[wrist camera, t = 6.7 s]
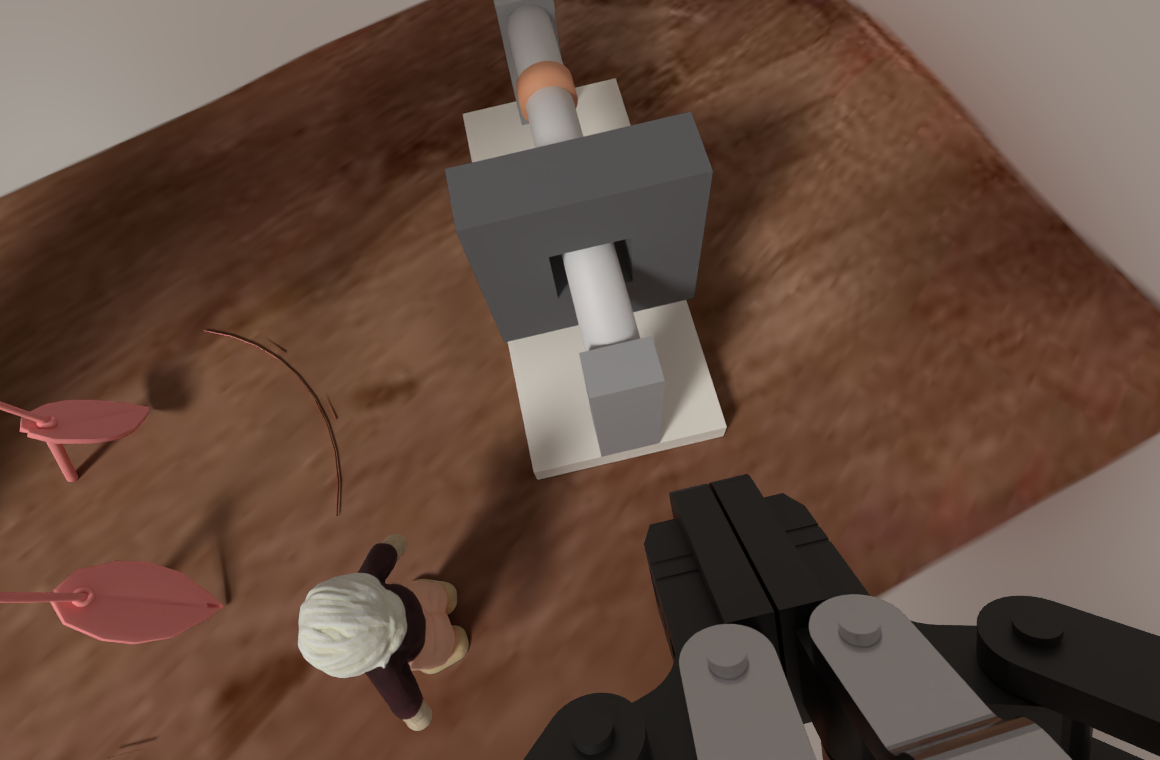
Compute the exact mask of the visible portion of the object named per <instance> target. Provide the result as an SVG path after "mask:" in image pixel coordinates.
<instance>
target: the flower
mask: <svg viewBox="0 0 1160 760" xmlns="http://www.w3.org/2000/svg"><path fill="white" fill-rule="evenodd" d="M203 331H204V330H203ZM205 332H209V331H205ZM210 333H215V332H210ZM215 334H220V333H215ZM220 335H225V334H220ZM225 336H230V335H225ZM231 337H233V336H231ZM234 338H235V337H234ZM236 339H238V338H236ZM239 340H241V339H239ZM242 341H243V340H242ZM244 342H246V341H244ZM247 343H248V342H247ZM249 344H251V343H249ZM252 345H254V344H252ZM255 346H256V345H255ZM272 346H273V345H272ZM257 347H258V346H257ZM260 349H261V348H260ZM277 349H278V348H277ZM262 350H263V349H262ZM279 350H280V349H279ZM265 352H266V351H265ZM282 352H283V351H282ZM267 353H268V352H267ZM270 355H271V354H270ZM272 356H273V355H272ZM275 358H276V357H275ZM277 359H278V358H277ZM299 379H300V378H299ZM302 383H303V382H302ZM305 387H306V386H305ZM306 388H307V387H306ZM308 391H309V390H308ZM309 392H310V391H309ZM312 396H313V395H312ZM314 399H315V398H314ZM315 401H316V399H315ZM316 403H317V401H316ZM327 404H328V403H327ZM317 405H318V403H317ZM328 406H329V405H328ZM318 407H319V405H318ZM329 408H330V407H329ZM149 409H150V407H148V406H142V405H136V404H129V403H120V402H111V401H102V400H63V401H58V402H53V403H49V404H45V405H42V406H40V407H38V408H36V409H34V410H32V411H30V412H29V411H26V410H23V409H20V408H18V407H15V406H12V405H9V404H6V403H4V402H1V401H0V410H3V411H6V412H9V413H12V414H15V415H18V416H21V422H20V432H23V433H28V435H27V437H29V438H33V439H37V440H41V441H45V442H47V444H48V446H49V448H50V450H51V452H52V454H53V455H54V457H55V459H56V461H57V463H58V465H59V467H60V469H61V470H62V472H63V474H64V476H65V478H66V480H67V481H68V482H74V481H76V480H77V479H78V475H77V473H76V471H75V469H74V467H73V465H72V463H71V461H70V459H69V457H68V455H67V453H66V451H65V449H64V447H63V445H62V444H87V443H100V442H106V441H113V440H117V439H119V438H121V437H124V436H126V435H128V434H130V433H132V432H134V431H135V430H136V429H137V428H138V427H139V425H140V424H141V423H142V422H143V421H144V420H145V418H146V416H147V414H148V412H149ZM319 409H320V407H319ZM330 410H331V409H330ZM320 411H321V409H320ZM331 412H332V411H331ZM321 413H322V411H321ZM332 414H333V413H332ZM322 415H323V413H322ZM333 416H334V415H333ZM323 417H324V415H323ZM334 418H335V417H334ZM324 419H325V417H324ZM325 421H326V419H325ZM326 423H327V421H326ZM327 426H328V423H327ZM328 429H329V427H328ZM329 433H330V430H329ZM330 436H331V434H330ZM331 440H332V437H331ZM332 443H333V440H332ZM333 447H334V444H333ZM334 450H335V447H334ZM335 457H336V451H335ZM336 467H337V458H336ZM337 476H338V467H337ZM338 498H339V476H338V496H337V515H336V516H338ZM53 592H54V593H0V603H16V602H50V603H51V605H52V606H53V608H54V610H55V612H56V613H57V615H58V617H59V618H60V620H61V622H62V624H63V625H65V626H68V627H70V628H72V629H75V630H77V631H79V632H82V633H84V634H86V635H89V636H91V637H93V638H96V639H98V640H100V641H107V642H117V643H126V644H139V643H145V642H151V641H156V640H162V639H168V638H172V637H174V636H176V635H178V634H180V633H182V631H183V632H184V630H186V629H188V628H190V627H192V626H194V625H196V624H199V623H201V622H203V620H204V621H205V619H208V618H209V617H210V616H212V615H213V614H215V613H216V612H218V611H219V610H220V609H222V608H223V605H222V604H221V603H220V602H219V601H218V600H217V599H216V598H215V597H214V596H213V595H212V594H210V593H209V592H208V591H207V590H205V589H204V588H202V587H201V586H200V585H198V584H197V583H196V582H194V581H193V580H191V579H190V578H189V577H187V576H186V575H185V574H183V573H182V572H179V571H176V570H173V569H170V568H166V567H163V566H160V565H157V564H154V563H151V562H140V561H113V562H109V563H105V564H100V565H96V566H91V567H87V568H83V569H78V570H76V571H75V572H73V573H72V574H71V575H70V576H69V577H68V578H67V579H65V580H64V581H63V582H62V583H61V584H60V585H59V586H57V587H56V588H55V589H54V590H53ZM143 749H144V748H143ZM139 750H140V749H139ZM135 751H136V750H135ZM128 753H129V752H128ZM124 754H125V753H124ZM120 755H121V754H120ZM113 757H114V756H113ZM109 758H110V757H109Z"/></svg>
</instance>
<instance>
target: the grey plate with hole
mask: <svg viewBox="0 0 1160 760" xmlns="http://www.w3.org/2000/svg"><path fill="white" fill-rule="evenodd" d="M445 173H446V179H447V184H448V190H449V195H450V201H451V207H452V212H453V218H454V224H455V229H456V233H457V235H458V237H459V240H460V242H461V244H462V246H463V249H464V251H465V253H466V256H467V258H468V260H469V263H470V265H471V267H472V269H473V272H474V274H475V276H476V279H477V281H478V283H479V286H480V288H481V290H482V292H483V295H484V297H485V299H486V302H487V304H488V306H489V309H490V311H491V313H492V316H493V318H494V320H495V322H496V325H497V327H498V329H499V332H500V334H501V336H502V339H503V341H504V343H505V342H509V341H513V340H517V339H522V338H526V337H530V336H535V335H539V334H543V333H547V332H552V331H556V330H560V329H564V328H569V327H573V326H577V325H579V324H578V319H577V315H576V311H575V307H574V303H573V299H572V295H571V291H570V287H569V283H568V279H567V275H566V271H565V267H564V262H563V258H562V254H565V253H569V252H573V251H577V250H582V249H586V248H590V247H595V246H599V245H603V244H607V243H612V242H613V243H614V246H615V250H616V253H617V257H618V260H619V264H620V268H621V271H622V275H623V278H624V282H625V285H626V289H627V292H628V296H629V299H630V303H631V307H632V310H633V312H637V311H641V310H645V309H650V308H654V307H658V306H662V305H667V304H671V303H675V302H679V301H684V300H688V299H692V298H694V295H695V288H696V281H697V275H698V268H699V261H700V255H701V248H702V241H703V234H704V228H705V221H706V214H707V208H708V201H709V194H710V188H711V181H712V174H713V170H712V167H711V164H710V162H709V159H708V156H707V153H706V151H705V148H704V145H703V142H702V140H701V137H700V134H699V132H698V129H697V126H696V123H695V121H694V118H693V115H692V112H687V113H683V114H679V115H674V116H670V117H666V118H662V119H657V120H653V121H649V122H644V123H640V124H636V125H631V126H627V127H623V128H619V129H614V130H610V131H606V132H601V133H597V134H593V135H589V136H584V137H580V138H576V139H571V140H567V141H563V142H558V143H554V144H550V145H546V146H541V147H537V148H533V149H528V150H524V151H520V152H515V153H511V154H507V155H503V156H498V157H494V158H490V159H485V160H481V161H477V162H473V163H468V164H464V165H460V166H455V167H451V168H447V169H445Z"/></svg>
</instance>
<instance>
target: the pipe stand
mask: <svg viewBox="0 0 1160 760" xmlns="http://www.w3.org/2000/svg"><path fill="white" fill-rule="evenodd" d="M494 5H495V9H496V13H497V18H498V22H499V27H500V31H501V36H502V40H503V45H504V49H505V54H506V58H507V63H508V67H509V71H510V76H511V80H512V85H513V89H514V94H515V98H516V102H512V103H507V104H503V105H499V106H494V107H490V108H486V109H482V110H477V111H473V112H469V113H464V114H463V118H464V123H465V128H466V134H467V139H468V144H469V149H470V154H471V159H472V163H473V162H477V161H481V160H485V159H490V158H494V157H498V156H503V155H507V154H511V153H515V152H520V151H524V150H528V149H533V148H537V147H541V146H546V145H550V144H554V143H558V142H563V141H567V140H571V139H576V138H580V137H584V136H589V135H593V134H597V133H601V132H606V131H610V130H614V129H619V128H623V127H627V126H631V125H630V122H629V119H628V116H627V113H626V109H625V106H624V103H623V100H622V97H621V94H620V91H619V87H618V84H617V81H616V78H615V79H611V80H606V81H602V82H598V83H593V84H589V85H585V86H581V87H576V88H575V86H574V83H573V79H572V76H571V73H570V71H569V70H568V68H567V67H565V66H564V65H563V62H562V58H561V53H560V46H559V38H558V30H557V23H556V15H555V8H554V0H494ZM562 258H563V262H564V267H565V271H566V275H567V279H568V283H569V287H570V291H571V295H572V299H573V303H574V307H575V311H576V315H577V319H578V324H579V325H577V326H573V327H569V328H564V329H560V330H556V331H552V332H547V333H543V334H539V335H535V336H530V337H526V338H522V339H517V340H513V341H509V342H508V345H509V350H510V355H511V360H512V366H513V371H514V376H515V381H516V386H517V391H518V396H519V401H520V406H521V411H522V416H523V421H524V426H525V431H526V436H527V441H528V446H529V451H530V456H531V461H532V466H533V471H534V474H535V476H536V478H537V479H538V480H539V479H544V478H548V477H552V476H556V475H561V474H565V473H569V472H573V471H578V470H582V469H586V468H590V467H594V466H599V465H603V464H607V463H611V462H616V461H620V460H624V459H628V458H633V457H637V456H641V455H645V454H650V453H654V452H658V451H662V450H667V449H671V448H675V447H679V446H683V445H688V444H692V443H696V442H700V441H705V440H709V439H713V438H717V437H722V436H724V433H725V431H726V428H727V426H726V423H725V420H724V417H723V414H722V411H721V407H720V404H719V401H718V398H717V395H716V392H715V389H714V385H713V382H712V379H711V376H710V373H709V370H708V367H707V364H706V360H705V357H704V354H703V351H702V348H701V345H700V342H699V338H698V335H697V332H696V329H695V326H694V323H693V320H692V316H691V313H690V310H689V307H688V304H687V301H686V300H684V301H679V302H675V303H671V304H667V305H662V306H658V307H654V308H650V309H645V310H641V311H637V312H633V310H632V307H631V303H630V299H629V296H628V292H627V289H626V285H625V282H624V278H623V275H622V271H621V268H620V264H619V260H618V257H617V253H616V250H615V246H614V243H613V242H612V243H607V244H603V245H599V246H595V247H590V248H586V249H582V250H577V251H573V252H569V253H565V254H562Z"/></svg>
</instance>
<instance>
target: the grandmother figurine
mask: <svg viewBox="0 0 1160 760" xmlns="http://www.w3.org/2000/svg"><path fill="white" fill-rule="evenodd" d="M406 550H407V541H406V539H405V538H404V537H403V536H402V535H399V534H392V535H390V536H388V537H387V538H386V539H385V540H384V541H383V542H381V543H379V544H376V545H375V546H373V548H372V549H371V550H370V552H369V553H368V555H367V557H366V559H365V561H364V563H363V565H362V566H361V568H360V570H359V571H358V573H352V574H347V575H343V576H337V577H333V578H331V579H328V580H327V581H325V582H321V583H319V584H318V585H316V586H315V587H314V589H312V590H311V591H310V592H309V593H308V595H307V597H306V600H305V602H304V603H303V604H302V605H301V607H300V613H299V638H298V647H299V649H300V651H301V652H302V654H303V657H304V658H305V659H306V660H307V661H308V662H309V663H311V664H312V665H313V666H314V667H316V668H317V669H320V670H322V671H324V672H325V673H326V674H328V675H331V676H335V677H338V678H347V677H351V676H358V675H360V674H363V673H366V675H367V676H368V677H369V679H370V680H371V682H372V683H373V684H374V686H375V687H376V688H377V690H378V691H379V693H380V694H381V696H382V697H383V698H384V700H385V701H386V702H387V703H388V705H389V707H390V709H391V710H392V712H393V713H394V714H395V715H396V716H397V717H398V718H400V719H403V721H405V722H406V724H407V725H408V727H409V728H410V729H412V730H415V731H420V730H423V729H424V728H426V727H427V726H428V725H429V723H430V721H431V718H432V711H431V708H430V706H429V705H428V704H427V703H426V702H425V700H424V698H423V696H422V694H421V691H420V689H419V686H418V684H417V682H416V679H415V677H414V675H413V674H412V672H411V670H421V671H422V672H424V673H427V674H434V673H437V672H439V671H441V670H443V669H445V668H446V667H448V666H450V665H451V664H453V663H455V662H456V661H458V660H460V659H461V658H463V657H464V656H465V654H466V653H467V651H468V648H469V642H468V638H467V635H466V632H465V631H464V629H463V628H461V627H460V626H457V625H451V623H450V620H449V618H448V614H450V613H451V612H452V611H453V610H454V609H455V607H456V604H457V591H456V589H455V587H454V586H453V585H452V584H451V583H448V582H444V581H436V580H429V579H417V580H415V581H399V582H392V583H390V584H385V580H386V578H387V577H388V576H389V574H390V573H391V571H392V570H393V568H394V566H395V564H396V562H397V560H398V559H399V558H400V557H401V556H402V555H404V553H405V552H406Z"/></svg>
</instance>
